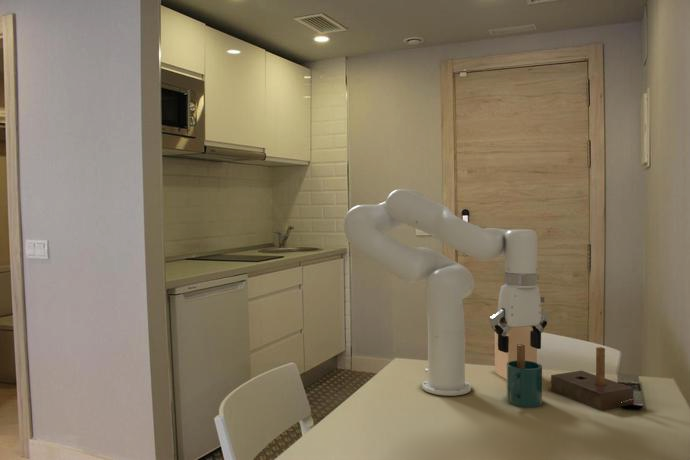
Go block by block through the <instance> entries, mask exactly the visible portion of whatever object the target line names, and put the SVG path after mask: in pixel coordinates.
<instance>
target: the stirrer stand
mask: <svg viewBox="0 0 690 460" xmlns="http://www.w3.org/2000/svg"><path fill="white" fill-rule="evenodd" d="M550 391H552V392H554V393H557V394H559V395H562V396H564V397H567V398H569V399H572V400H574V401H577V402H579V403H581V404H584V405H587V406H589V407H591V408H594V409H597V410H599V411H605V410H611V409H615V408H621V407H627V406H631V405H634V387H632V386H628V385H626V384H623V383H620V382H617V381H614V380H611V379H608V378H605V386H601V387H600V386H598V385H596V374H593V373H590V372H587V371H584V370H576V371H569V372H562V373H556V374H551V375H550ZM629 399H633V401H627V402H623V401H626V400H629ZM621 402H622V403H621Z"/></svg>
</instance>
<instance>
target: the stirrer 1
mask: <svg viewBox="0 0 690 460" xmlns="http://www.w3.org/2000/svg"><path fill="white" fill-rule="evenodd" d="M517 368H522V369H525V345H523V344H518V345H517Z"/></svg>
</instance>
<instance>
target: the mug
mask: <svg viewBox="0 0 690 460" xmlns="http://www.w3.org/2000/svg"><path fill="white" fill-rule="evenodd" d="M506 402H507V403H509V404H511V405H513V406H516V407H521V408H535V407H539V406H541V405H542V404H543V365H542V364H541V363H539V362H537V363H536V362H532V361H525V369H522V368H517V360H516V361H510V362H508V363H507V380H506Z"/></svg>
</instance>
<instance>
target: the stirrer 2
mask: <svg viewBox="0 0 690 460" xmlns="http://www.w3.org/2000/svg"><path fill="white" fill-rule="evenodd" d="M595 363H596V364H595V375H596V385H598V386H600V387H601V386H605V379H606V348H605V347H602V346H598V347H597V346H596V347H595Z"/></svg>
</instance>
